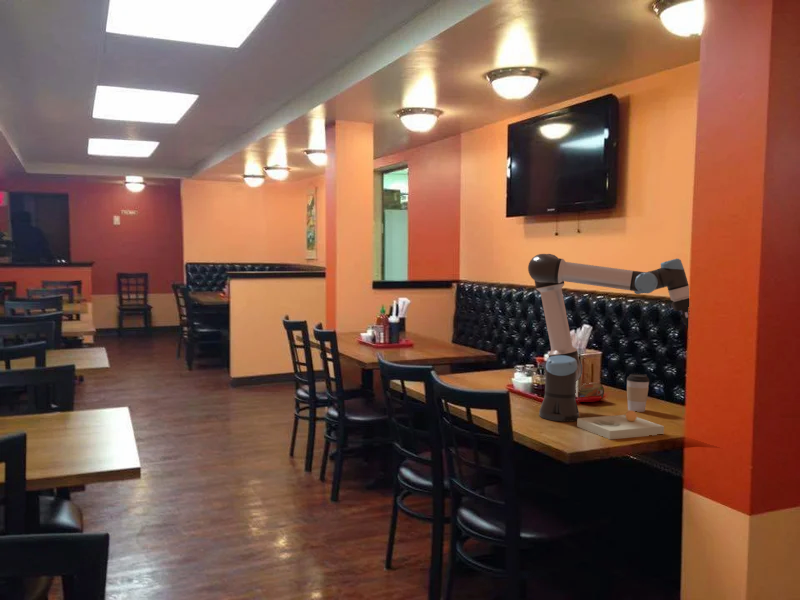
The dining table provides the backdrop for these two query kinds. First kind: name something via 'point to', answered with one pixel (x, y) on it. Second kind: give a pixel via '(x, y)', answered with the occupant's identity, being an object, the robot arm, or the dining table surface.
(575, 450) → the dining table surface
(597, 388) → the tin
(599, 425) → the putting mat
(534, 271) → the robot arm
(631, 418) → the ball
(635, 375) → the coffee cup
